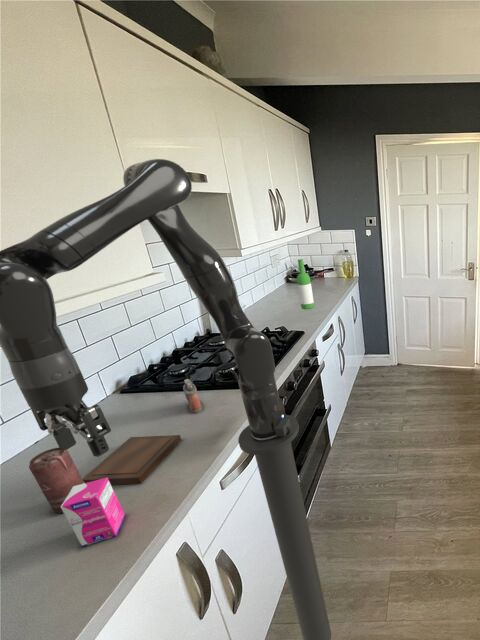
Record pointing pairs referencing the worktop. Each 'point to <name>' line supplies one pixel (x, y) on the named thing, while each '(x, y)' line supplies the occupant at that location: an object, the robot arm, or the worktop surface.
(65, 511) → the supplement box
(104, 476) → the board
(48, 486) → the can
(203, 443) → the worktop surface
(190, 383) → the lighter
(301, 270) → the wine bottle
